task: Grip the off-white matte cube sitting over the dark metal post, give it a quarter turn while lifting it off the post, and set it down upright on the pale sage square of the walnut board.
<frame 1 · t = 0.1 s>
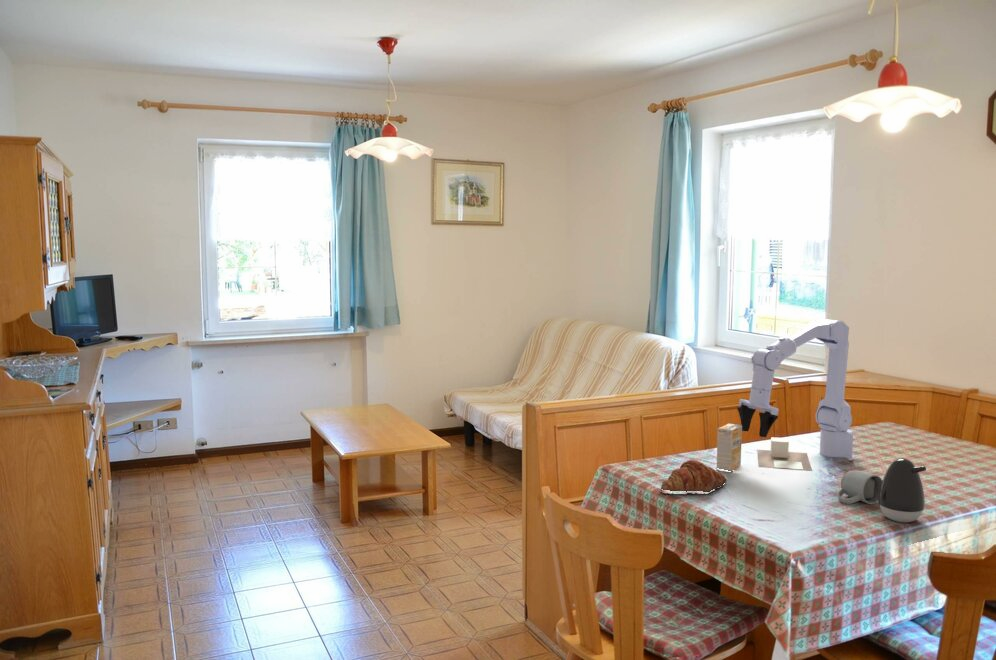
hand: (753, 433, 233), 11 cm above the table, tool pointing down, fingers open, 7 cm apart
supplement box: (728, 469, 234), on the table
walnut board: (783, 462, 240), on the table
ceramic mug: (857, 501, 205), on the table
pump dispenser: (900, 519, 191), on the table
off-white matte cube: (779, 455, 245), point 1 cm above the table, touching walnut board
pastry: (693, 490, 215), on the table
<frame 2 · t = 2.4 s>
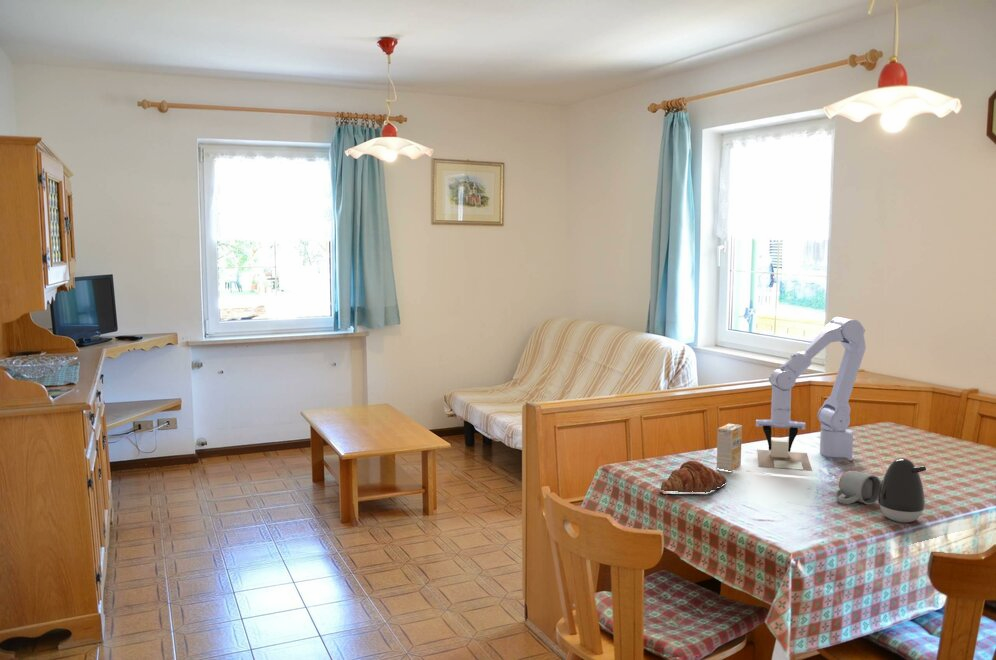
hand: (779, 450, 245), 2 cm above the table, tool pointing down, fingers closed on off-white matte cube, 5 cm apart
off-white matte cube: (779, 455, 245), point 1 cm above the table, touching gripper, walnut board
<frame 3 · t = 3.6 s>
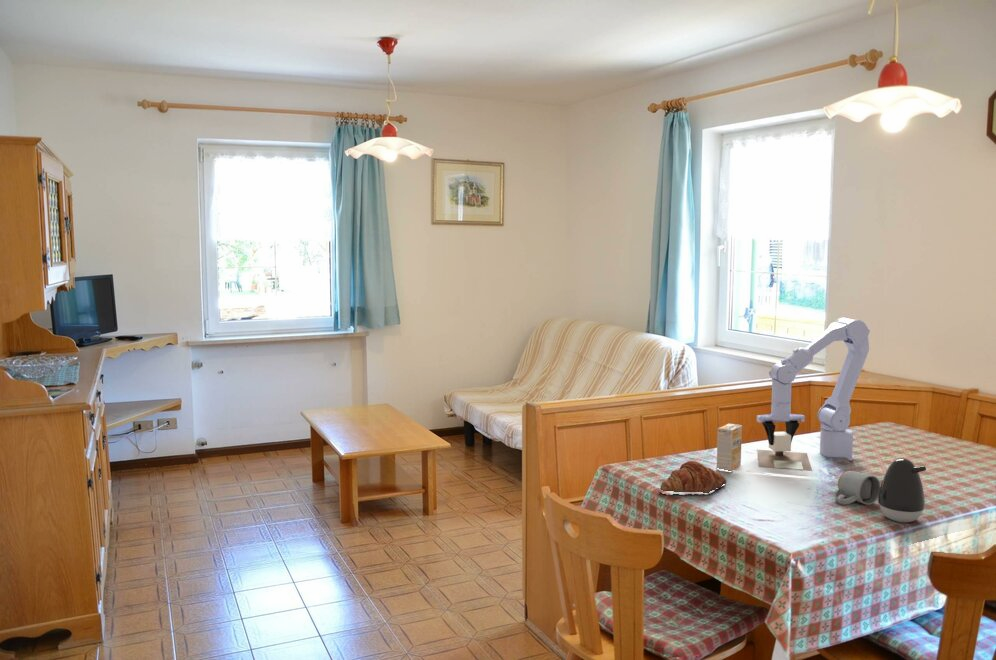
hand: (779, 444, 245), 4 cm above the table, tool pointing down, fingers closed on off-white matte cube, 5 cm apart
off-white matte cube: (779, 449, 245), point 3 cm above the table, touching gripper
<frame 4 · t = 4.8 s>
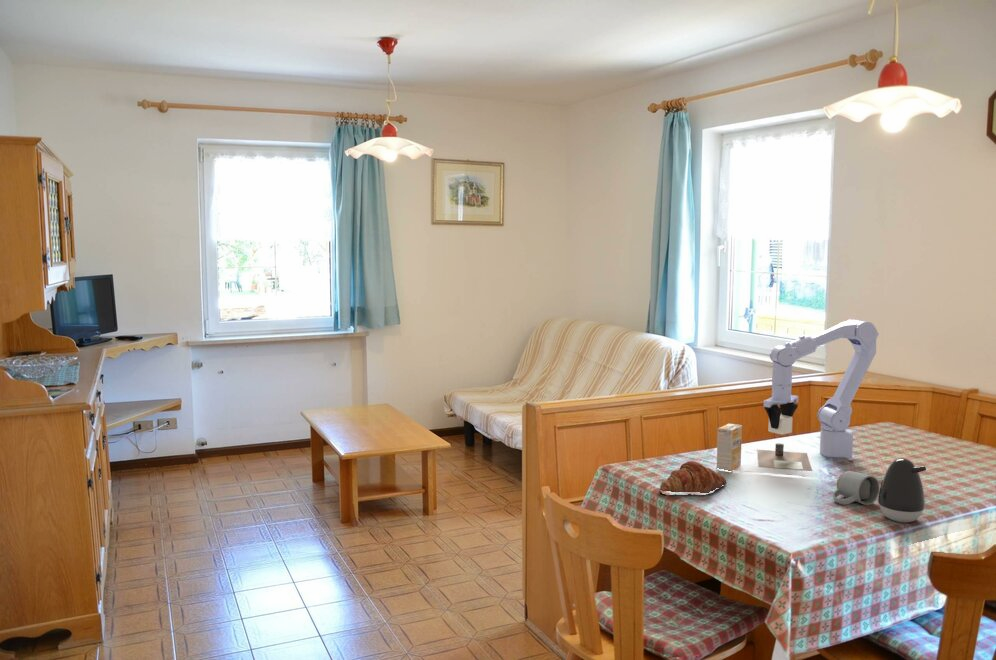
hand: (780, 427, 244), 10 cm above the table, tool pointing down, fingers closed on off-white matte cube, 5 cm apart
off-white matte cube: (780, 432, 244), point 8 cm above the table, touching gripper
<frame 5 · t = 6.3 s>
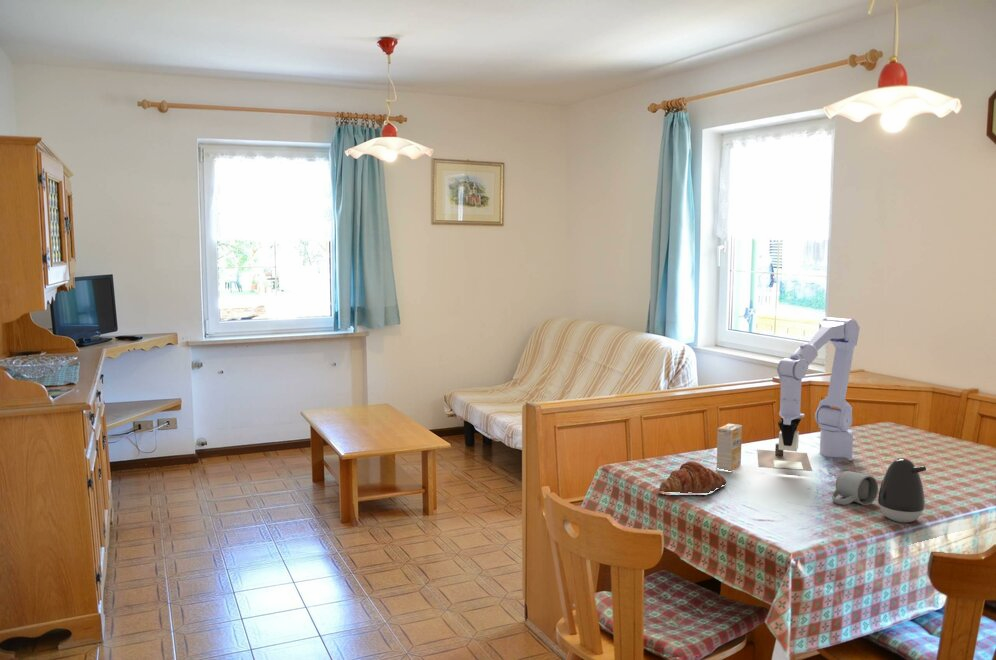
hand: (788, 443, 233), 8 cm above the table, tool pointing down, fingers closed on off-white matte cube, 5 cm apart
off-white matte cube: (788, 448, 234), point 6 cm above the table, touching gripper
when the fingers open (4 cm above the table, at t = 7.4 s): off-white matte cube drops 1 cm, resting on walnut board.
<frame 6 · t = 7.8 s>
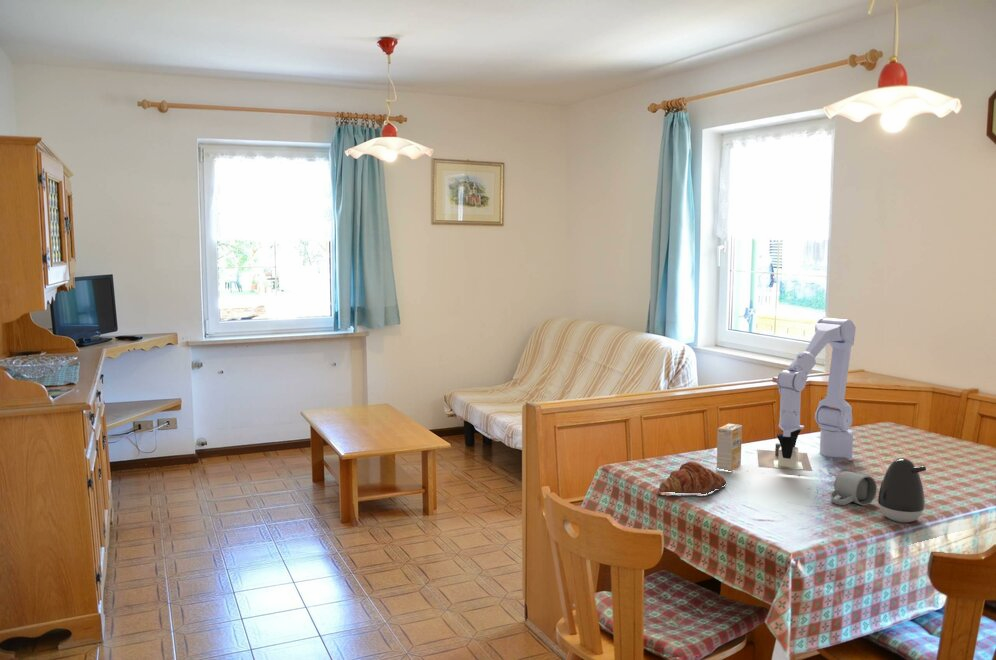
hand: (788, 454, 234), 4 cm above the table, tool pointing down, fingers open, 7 cm apart
off-white matte cube: (787, 464, 234), point 1 cm above the table, touching walnut board
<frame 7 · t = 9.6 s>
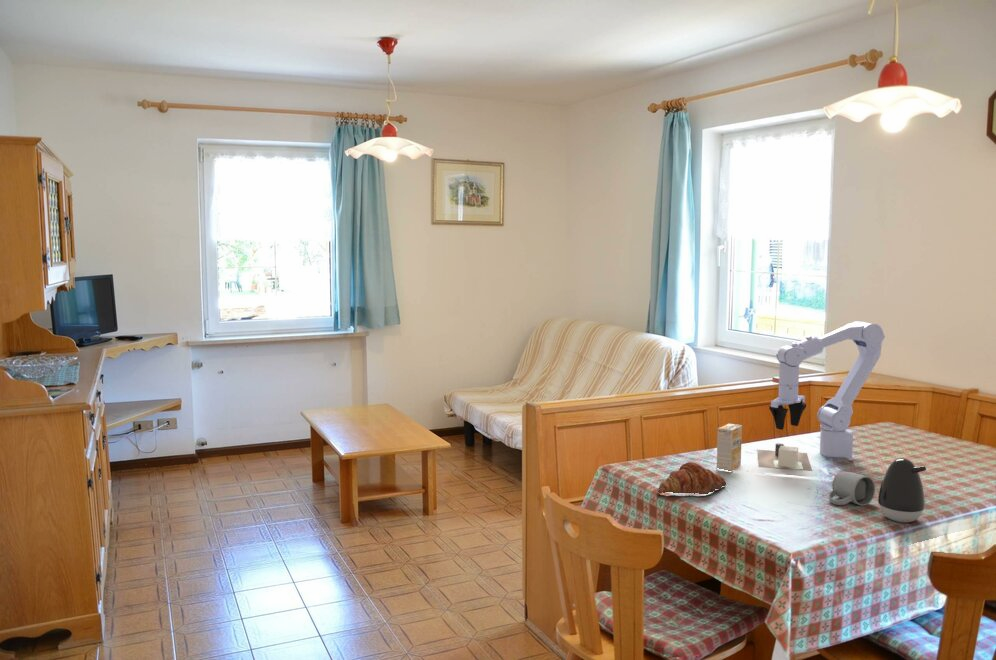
hand: (787, 427, 244), 10 cm above the table, tool pointing down, fingers open, 7 cm apart
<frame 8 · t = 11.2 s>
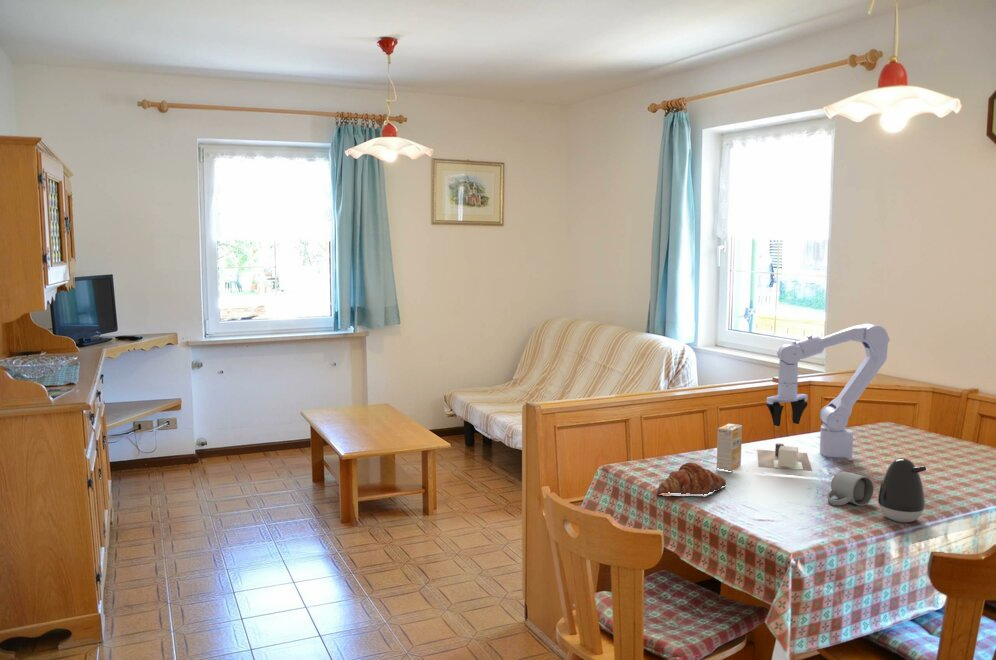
hand: (786, 424, 247), 10 cm above the table, tool pointing down, fingers open, 7 cm apart
at the end: off-white matte cube 0.0 cm from the target spot on the walnut board, point 1.0 cm above the walnut board's base; off-white matte cube tilted 0°; the gripper is holding nothing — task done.
